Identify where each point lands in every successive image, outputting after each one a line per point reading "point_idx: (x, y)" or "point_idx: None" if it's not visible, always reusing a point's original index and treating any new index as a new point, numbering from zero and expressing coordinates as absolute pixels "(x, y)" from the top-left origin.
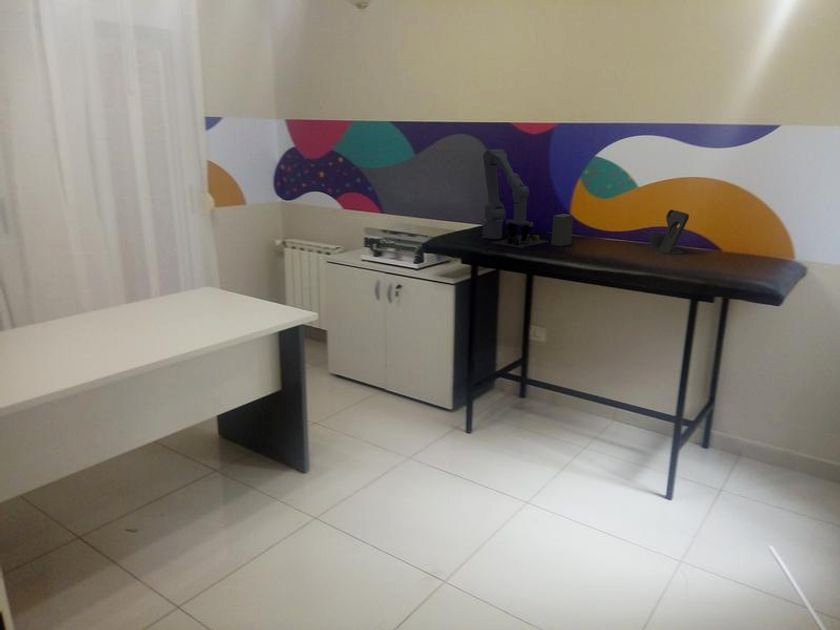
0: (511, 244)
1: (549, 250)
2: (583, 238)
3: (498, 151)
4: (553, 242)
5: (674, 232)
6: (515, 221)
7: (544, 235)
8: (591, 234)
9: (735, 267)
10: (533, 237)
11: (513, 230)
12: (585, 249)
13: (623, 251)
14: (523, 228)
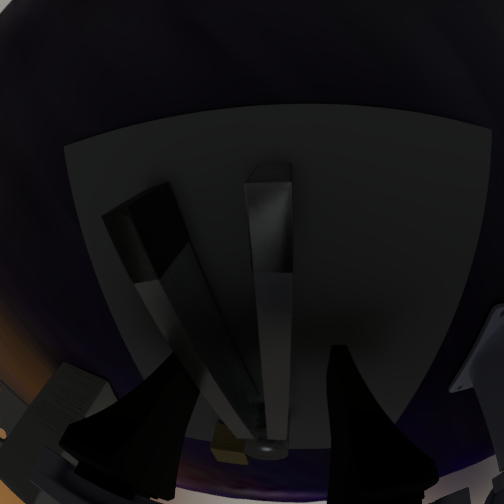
0: (237, 203)
1: (15, 271)
2: (195, 479)
3: None
4: (86, 389)
5: (7, 427)
6: None
7: (317, 482)
8: (228, 497)
9: None
10: (233, 441)
11: (340, 445)
12: (31, 366)
13: (13, 376)
14: (84, 436)
